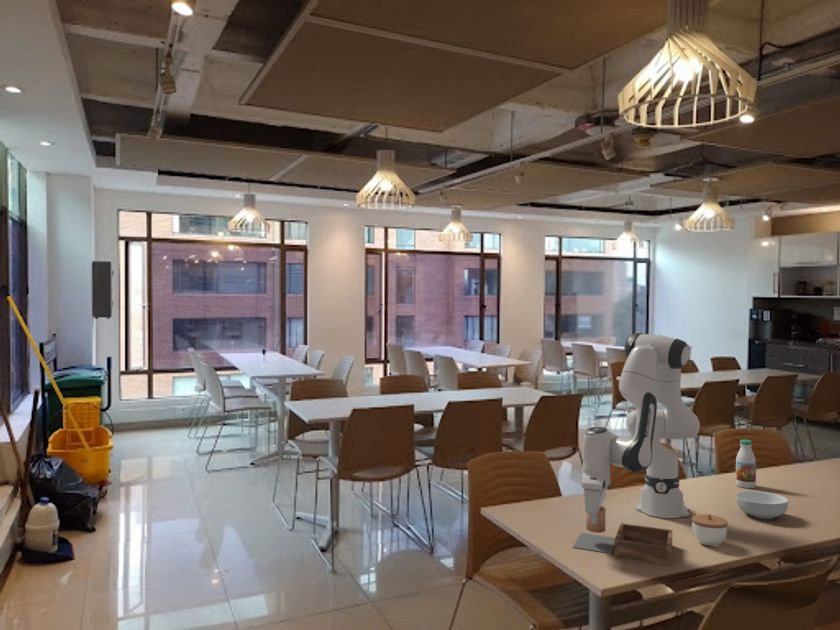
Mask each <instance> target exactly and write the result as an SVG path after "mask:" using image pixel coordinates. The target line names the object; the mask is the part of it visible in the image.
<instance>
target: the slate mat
mask: <svg viewBox="0 0 840 630" xmlns="http://www.w3.org/2000/svg"><path fill="white" fill-rule="evenodd" d="M614 540H615V537H613V536H611V537H610V536H606V535H599V534H592V533H585V532H580V534H579V535H578V536H577V539H576V541H575V543H574V544H573V546H572V548H573V549H577V548H578V549H579V550H585V551H591V552H592V551H593V552H598V553H605V554H610V555H612V554H613V553H614V552H613V551H614Z"/></svg>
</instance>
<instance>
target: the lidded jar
mask: <svg viewBox="0 0 840 630" xmlns="http://www.w3.org/2000/svg"><path fill="white" fill-rule="evenodd" d="M728 523H729V522H728V520H727V519H725V518H723V517H720V516H717V515H713V514H711V513H706V514H701V513H700V514H694V515H692V516H691V527H692V531H693V535H694V537H695V539H696V540H698V541H699V543H700V544H701V543H702V544H701V545H703V544H704V545H703V546H706V545H710V546H709V547H718V545H719V546H720V544H722V543H723V542H724V541H725V540H726V537H727V534H728V525H729V524H728Z"/></svg>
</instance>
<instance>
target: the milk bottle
mask: <svg viewBox="0 0 840 630" xmlns="http://www.w3.org/2000/svg"><path fill="white" fill-rule="evenodd" d="M739 444H740V448H739V450H738V452H737V455H736V458H735V485H736V486H737V487H739V488H744V489H754V488H756V487H757V486H756V485H757V463H756V457H755V453H754V452H753V449H752V446H753V441H752V440H751V439H750V440H749V439H740V440H739Z"/></svg>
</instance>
